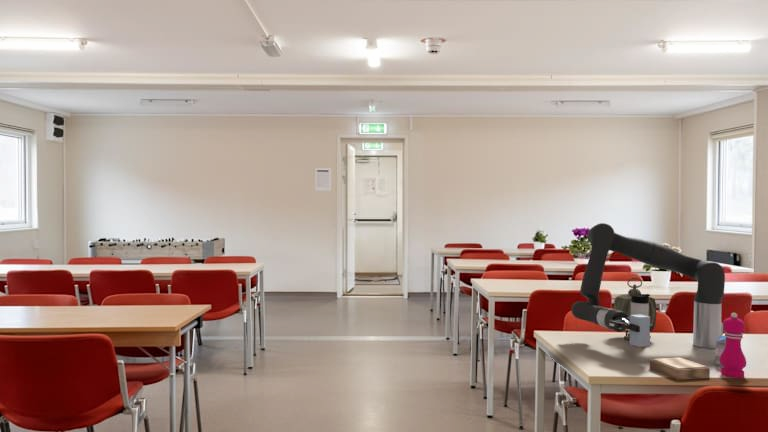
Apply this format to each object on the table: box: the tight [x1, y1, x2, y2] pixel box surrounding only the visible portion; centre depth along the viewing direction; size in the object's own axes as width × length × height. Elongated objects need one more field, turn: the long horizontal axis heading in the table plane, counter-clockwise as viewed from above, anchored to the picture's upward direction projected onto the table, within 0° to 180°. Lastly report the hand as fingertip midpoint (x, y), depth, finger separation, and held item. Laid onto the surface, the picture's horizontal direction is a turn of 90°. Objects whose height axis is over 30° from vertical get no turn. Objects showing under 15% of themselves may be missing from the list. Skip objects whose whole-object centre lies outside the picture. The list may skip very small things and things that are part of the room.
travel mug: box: [630, 293, 651, 348], centre depth 213 cm, size 6×7×20 cm
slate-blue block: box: [629, 314, 651, 348], centre depth 188 cm, size 4×4×10 cm
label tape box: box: [714, 336, 726, 367], centre depth 189 cm, size 9×4×12 cm, turn 141°
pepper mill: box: [720, 312, 747, 379], centre depth 175 cm, size 7×7×20 cm
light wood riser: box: [649, 356, 711, 381], centre depth 176 cm, size 12×12×3 cm
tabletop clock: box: [613, 277, 657, 341], centre depth 225 cm, size 14×9×25 cm, turn 104°
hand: (645, 328), depth 185 cm, fingers closed on slate-blue block, 4 cm apart
